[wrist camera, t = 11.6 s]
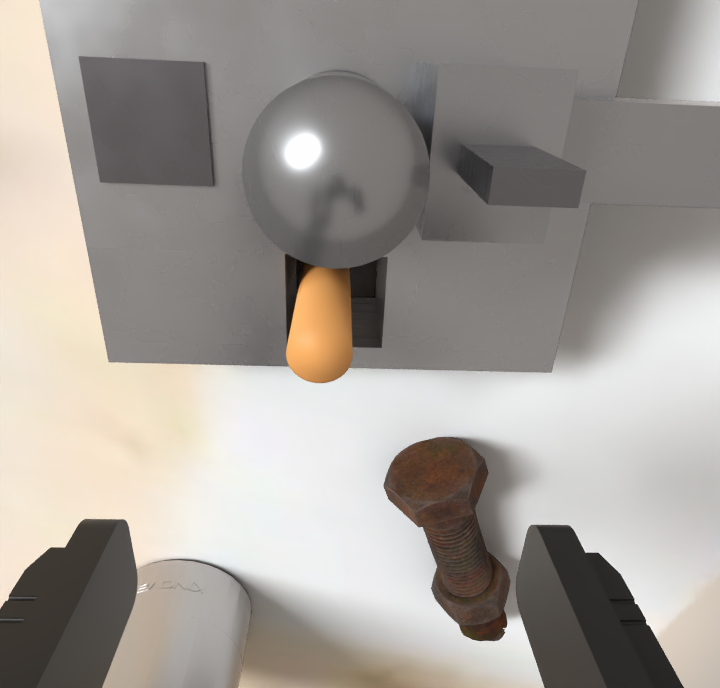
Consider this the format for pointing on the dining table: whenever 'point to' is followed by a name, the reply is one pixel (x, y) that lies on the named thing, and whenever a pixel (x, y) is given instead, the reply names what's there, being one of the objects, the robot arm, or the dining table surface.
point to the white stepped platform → (357, 168)
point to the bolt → (453, 530)
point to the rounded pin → (321, 325)
